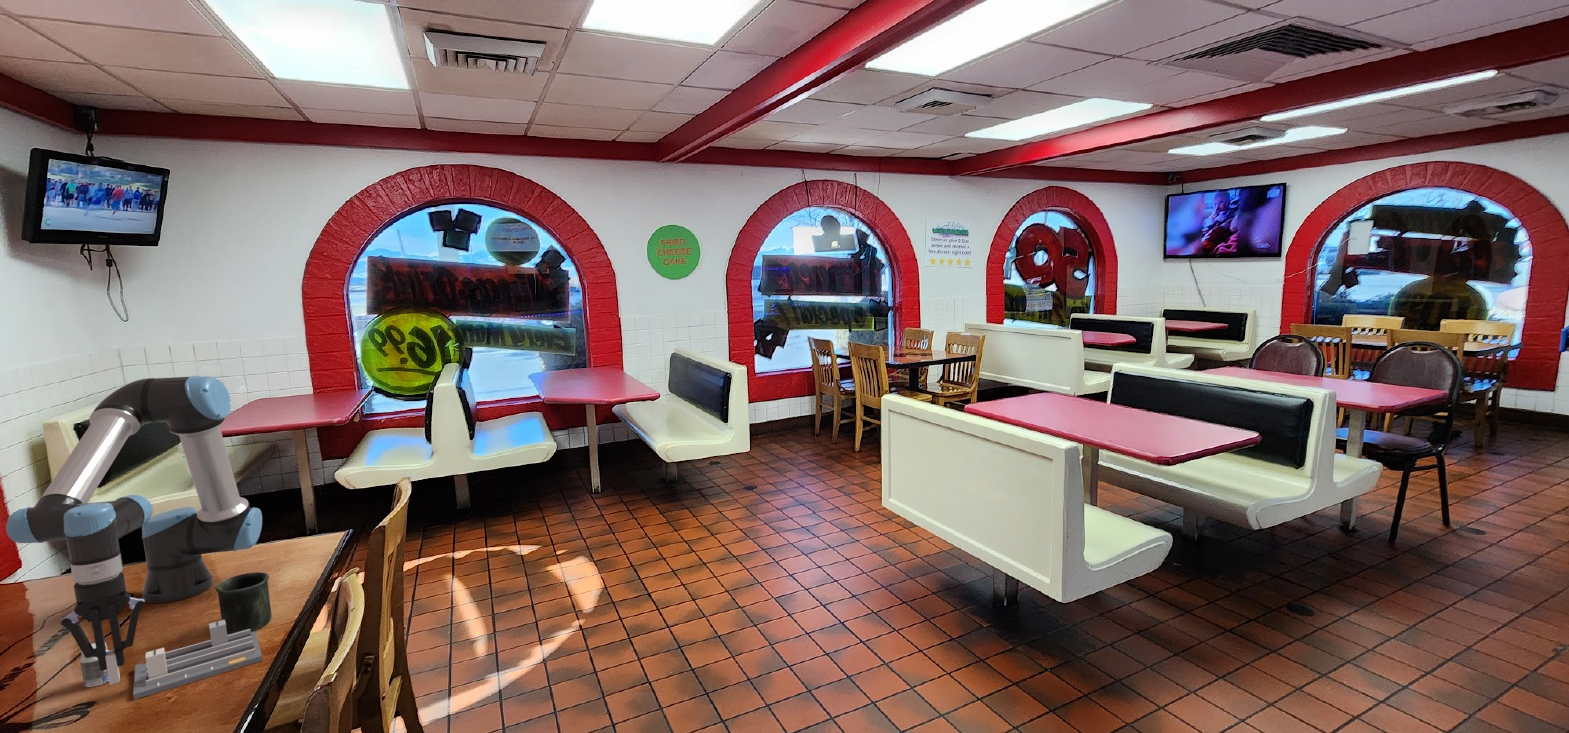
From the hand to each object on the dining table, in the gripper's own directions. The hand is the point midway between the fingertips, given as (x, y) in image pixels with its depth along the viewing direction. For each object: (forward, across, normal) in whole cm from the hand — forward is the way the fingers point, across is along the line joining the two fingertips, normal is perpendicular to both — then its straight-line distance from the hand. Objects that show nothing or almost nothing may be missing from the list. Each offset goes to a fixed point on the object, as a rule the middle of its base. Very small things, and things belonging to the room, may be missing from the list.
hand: (115, 681), depth 148 cm
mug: (+3, +24, +20) cm, 31 cm away
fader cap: (+2, +7, 0) cm, 7 cm away
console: (+3, +14, +2) cm, 14 cm away
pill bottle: (+3, -3, +10) cm, 11 cm away
